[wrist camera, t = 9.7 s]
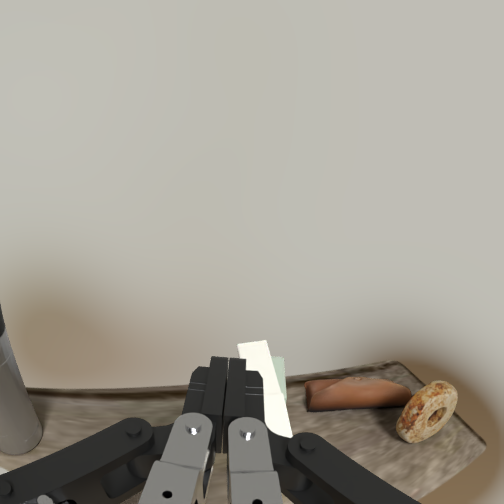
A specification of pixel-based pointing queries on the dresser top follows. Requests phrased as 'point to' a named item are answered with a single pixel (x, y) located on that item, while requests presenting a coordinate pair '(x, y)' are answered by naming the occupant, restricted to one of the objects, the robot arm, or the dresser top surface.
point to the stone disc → (427, 411)
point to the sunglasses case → (354, 394)
